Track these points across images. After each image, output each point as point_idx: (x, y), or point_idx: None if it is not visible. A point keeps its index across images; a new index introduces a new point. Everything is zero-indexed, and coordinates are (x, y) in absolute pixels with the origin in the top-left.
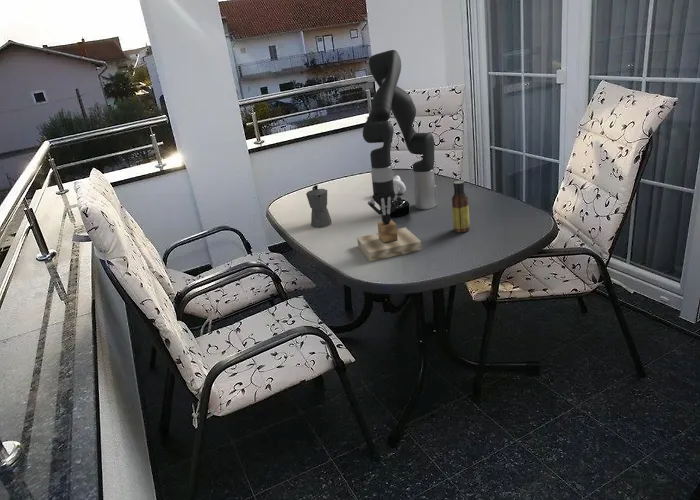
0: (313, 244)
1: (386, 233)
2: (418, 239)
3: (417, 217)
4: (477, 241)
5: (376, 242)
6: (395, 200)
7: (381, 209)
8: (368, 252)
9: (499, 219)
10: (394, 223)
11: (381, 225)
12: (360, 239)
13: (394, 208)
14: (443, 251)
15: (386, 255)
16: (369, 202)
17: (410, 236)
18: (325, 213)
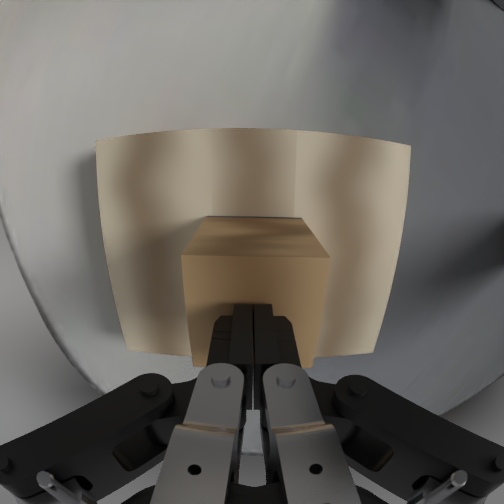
0: (4, 72)
1: None
2: (378, 332)
3: (468, 20)
4: (488, 329)
5: (177, 267)
6: (417, 500)
7: (203, 419)
8: (126, 341)
9: None
10: (308, 351)
11: (198, 338)
12: (105, 179)
13: (357, 448)
14: (401, 360)
15: None
16: (22, 500)
17: (372, 285)
18: None
